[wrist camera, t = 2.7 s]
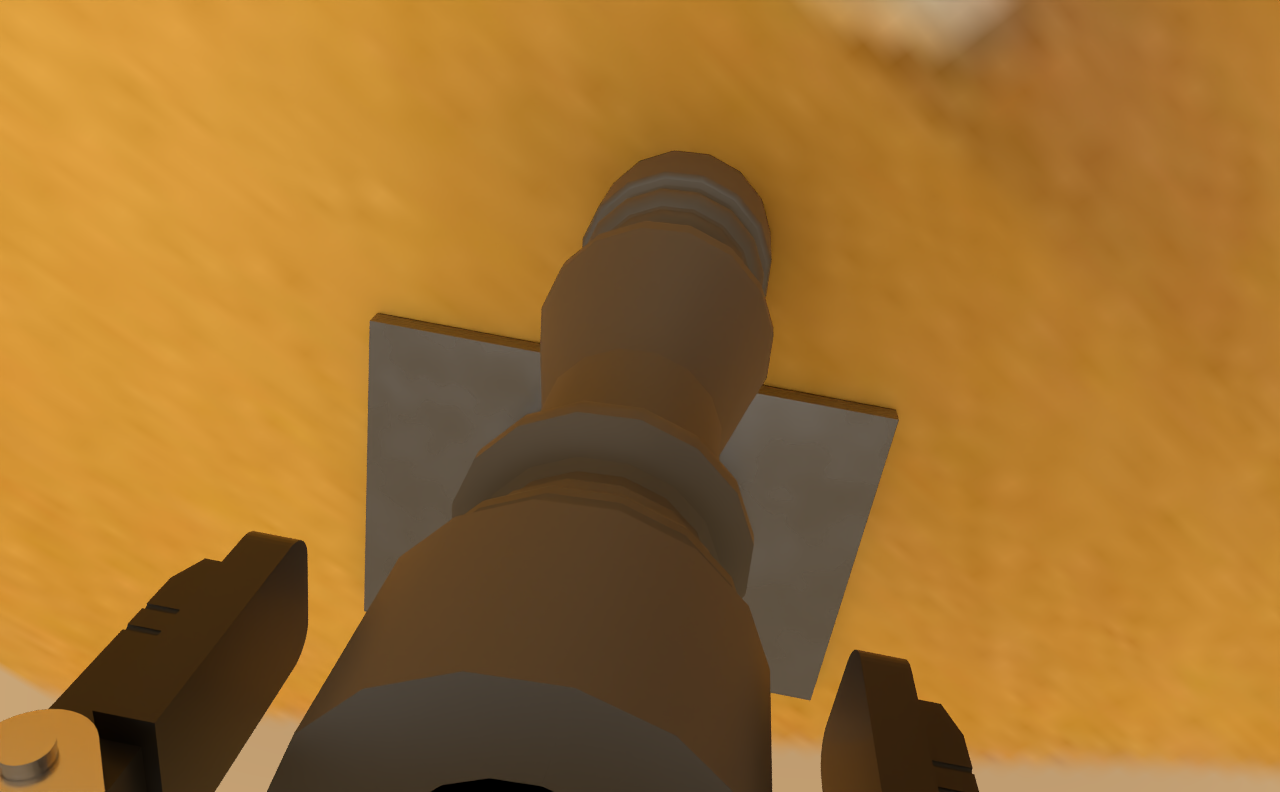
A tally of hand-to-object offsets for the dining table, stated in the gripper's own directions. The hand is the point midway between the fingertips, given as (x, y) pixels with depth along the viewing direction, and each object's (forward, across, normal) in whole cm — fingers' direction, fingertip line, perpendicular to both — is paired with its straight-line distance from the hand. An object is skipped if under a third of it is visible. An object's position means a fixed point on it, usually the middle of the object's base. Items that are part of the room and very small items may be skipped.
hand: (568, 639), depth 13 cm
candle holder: (+22, 0, 0) cm, 22 cm away
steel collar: (+21, +1, +12) cm, 25 cm away
